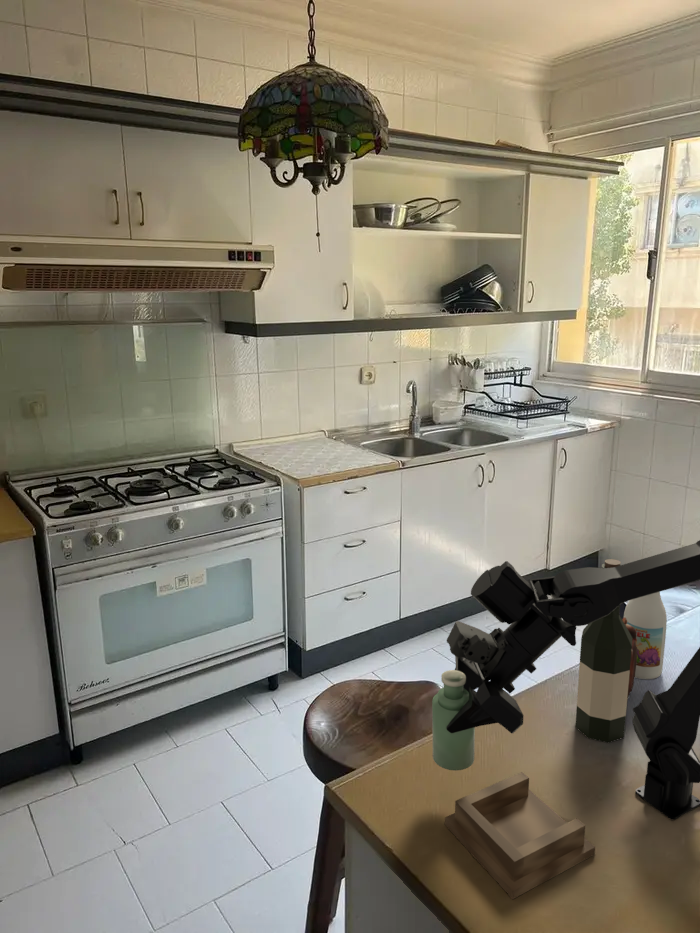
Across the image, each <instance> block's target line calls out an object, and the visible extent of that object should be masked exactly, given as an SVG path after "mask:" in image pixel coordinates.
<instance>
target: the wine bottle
mask: <svg viewBox="0 0 700 933" xmlns="http://www.w3.org/2000/svg"><path fill="white" fill-rule="evenodd" d="M621 563H622V562H621V561H620V560H618V559H611V558H608V559H605V560H604V563H602V564H601V568H612V567H617V566H620V565H622V564H621ZM620 608H621V605H619V606H618V607H617V608H616V609H615V610H613V611H612V612H611V613H610V614H609V615H607V616H605V617H603V618H600V619H598V620H596V621H594V622H592V623H590V624H587V625H585V627H584V628H583V629H582V633H581V637H580V638H581V639H580V651H579V652H580V654H579V655H580V656H579V665H578V666H579V668H578V669H579V670H578V680H577V681H578V683H577V684H578V685H577V697H576V698H577V699H576V711H575V712H576V713H575V714H576V715H575V729H577V730H578V729H579V730H580V731H581V732H582V733H581V732H580V731H579V730H578V731H579V732H580V733H581V734H583V733H584V734H583V735H584V736H585V735H586V736H585V737H586V738H587V737H588V738H587V739H590V738H591V739H590V740H594V739H596V740H595V741H599V740H600V742H603V741H605V742H604V743H608V742H609V743H612V742H615V741H614V740H616V741H618V740H617V739H619V740H621V739H620V738H622V739H624V738H625V732H626V731H625V730H626V729H625V728H626V719H627V718H626V716H627V709H628V708H627V707H628V706H627V705H628V698H627V697H628V685H629V674H630V662H631V651H632V636H631V634H630V633H629V631H628V629H627V627H626V626H625V624H624V622H623V618H622V617H621V615H620V610H621V609H620ZM623 737H624V738H623ZM611 741H612V742H611Z"/></svg>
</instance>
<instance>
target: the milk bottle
mask: <svg viewBox="0 0 700 933" xmlns="http://www.w3.org/2000/svg"><path fill="white" fill-rule="evenodd" d="M667 616H668V615H667V611H666V607H665V605H664V603H663V600H662V596H661V591H660V592H657V593H653V594H650V595H646V596H643V597H639V598H636V599H632V600H629V601H627V602H626V606H625V609H624V612H623V618H624V617H625V618H626V620H627V624H628V625H631V626H632V627H633V628H634V629H635V630H636V635H637V639H635V640H636V647H637V663H636V671H635V678H634V679H638V680H639V679H640V680H655V679H657V678H659V677H661V675H662V674H663V673H662V672H663V666H664V660H665V658H664V656H665V649H666V648H665V647H666V638H667V637H666V635H667V625H668V624H667V622H668V619H667V618H668V617H667Z"/></svg>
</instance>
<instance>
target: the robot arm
mask: <svg viewBox="0 0 700 933" xmlns="http://www.w3.org/2000/svg"><path fill="white" fill-rule="evenodd" d="M699 581H700V539H699V540H697V541H696V542H695V543H693V544H692V543H691V544H689V545H685V546H681V547H678V548H675V549H672V550H668V551H665V552H662V553H658V554H654V555H651V556H649V557H643V558H642V559H638V560H634V561H631V562H628V563H624V564H620V566H617V567H612V568H602V567H590V566H588V567H587V566H586V567H580V568H572V569H567V570H563V571H560V572H558V573H557V574H556V575H554V576H546V577H537V578H536V577H535V578H529V579H528V580H526V579H525V578H524V577H523V576H522V575H521V574H520V573H519V572H518V571H517V570H516V568H515V567H514V566H513V565H512V564H511V563H510V562H509V561H507V560H506V561H504V562H503V563H501V565H495V566H492V567H491V568H490V569H486V570H485V571H484V572H482V573H481V575H480V576H478V578H477V579H476V581H475V582H474V583H473V585H472V587H471V590H470V595H471V596H472V598H473V599H475V600H476V601H477V602H478V604H480V605H482V607H483V608H484V609H485V610H487V611H488V612H489V613H490V614H491V615H492V616H493V617H494V618H495V619H496V620H497V621H498V622H499V623H502V624H504V623H506V624H507V625H508V627H506V629H504V630H503V629H501V628H500V627H498V628H494V629H493V630H492V631H491V632H489V633H488V632H486V631H483V630H482V629H480V628H477V627H475V626H472V625H470V624H467V623H464V622H461V621H459V620H458V621H457V620H456V621H455V622H454V624H453V626H452V628H451V630H450V632H449V634H448V636H447V638H446V643H447V644H448V645H449V651H450V652H451V654H452V655H454V659H455V668H454V670H457V671H460V672H462V673H464V674H465V676H466V682H465V684H464V689H466V690H467V691H468V692H469V700H468V702H467V703H466V704H465V705H464V706H463V707H462V708H461V710H460V711H459V712H458V713H457V714H456V715H455V717H454V718H453V719H452V720H451V721H450V723H449V724H448V725H447V727H446V729H447V730H448V731H449V732H450V733H455V732H459V731H463V730H467V729H470V728H474V727H475V728H478V727H482V726H486V725H487V726H488V725H493V724H498V725H500V726H502V727H504V728H505V729H506V731H508V732H509V733H511V734H514V733H515V732H516V731H517V730H519V729H520V728H521V727H522V726H523V725H524V713H523V712H522V709H521V708H520V706H519V704H518V702H517V700H516V699H515V698H513V696H512V695H510V694H511V693H512V692H513V691H515V690H516V688H515V686H514V683H513V682H515V681H516V680H517V679H518V678H519V677H520V676H521V675H522V674H523V673H524V672H525V671H527V672H529V673H530V674H533V673H534V672H535V671H536V670H537V667H536V665H535V664H534V663H535V662H536V661H537V660H538V659H540V658H541V656H542V655H543V654H544V653H546V652H547V651H548V650H549V649H550V648H551V647H552V646H553V645H554V644H555V643H556V642H558V640H559V639H560V638H561V637H562V639H564V640H565V641H566V642H567V643H568V644H569V645H570V646H572V647H575V646H576V645H577V640H576V639H577V638H576V631H577V627H582V626H587V625H588V624H590V623H592V622H594V621H596V620H598V619H600V618H603V617H605V616H607V615H609V614H610V613H611V612H612V611H613V610H615V609H616V608H617V607H618V606H619V605H620V606H621V605H622V604H625V603H628V602H629V600H632V599H636V598H639V597H643V596H646V595H650V594H653V593H657V592H660V593H661V592H663V591H664V592H665V591H667V590H670V589H675V588H678V587H681V586H685V585H689V584H692V583H695V582H699ZM549 596H550V597H551V598H549ZM476 690H477V691H476ZM632 711H633V713H634V715H633V716H632V727H633V729H634V732H635V734H636V736H637V738H638V740H639V742H640V744H641V746H642V748H643V750H644V752H645V755H646V756H647V758H648V759H649V761H648V762H647V766H646V774H645V777H644V778H645V779H644V784H643V785H641V786H639V787H637V788H636V789H635V792H634V793H635V794H636V795H637V796H638V797H640V798H641V799H642V800H643V801H645V802H646V803H648V804H649V805H650V806H651V807H653V808H654V809H656V810H657V811H658V812H660V813H661V814H663V815H664V816H665V817H667V818H668V819H669V820H672V821H675V820H677V819H679V818H681V817H682V816H685V815H686V814H688V813H690V812H692V811H693V810H695V809H697V808H699V807H700V799H699V798H698V797H697V796H695V795H694V794H693V789H694V784H700V759H699V757H698V756H697V754H696V752H695V751H694V748H693V747H694V745H695V742H696V740H697V736H698V730H699V723H700V646H699V647H698V649H697V650H696V651H695V653H694V654H693V656H692V657H691V659H690V660H689V661H688V662H687V663H686V665H685V667H684V668H683V669H682V671H681V672H680V673H679V675H678V676H677V678H676V679H675V680H674V682H673V683H672V685H670V687H669V688H668V689H667V690H665V691H663V692H660V693H658V694H656V693H654V692H653V691H651V690H646V692H645V693H644V695H643V696H642V699H641V701H640V702H639V703H638V704H637V705H636V706H634V707H633V708H632Z"/></svg>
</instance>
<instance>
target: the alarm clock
mask: <svg viewBox="0 0 700 933" xmlns="http://www.w3.org/2000/svg"><path fill="white" fill-rule="evenodd" d="M622 620H623V622H624V624H625V626H626V627H627V629H628V631H629V633H630V634H631V636H632V651H631V662H630V674H629V685H628V697H627V699H629V698H630V695H631V692H632V691H633V688H634V684H635V679H636V678H635V671H636V663H637V647H636V640H635V639H637V635H636V630H635V629H634V628H633V627H632V626H631V625H628V624H627V620H626V618H625V617H624V616H623V617H622Z"/></svg>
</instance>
